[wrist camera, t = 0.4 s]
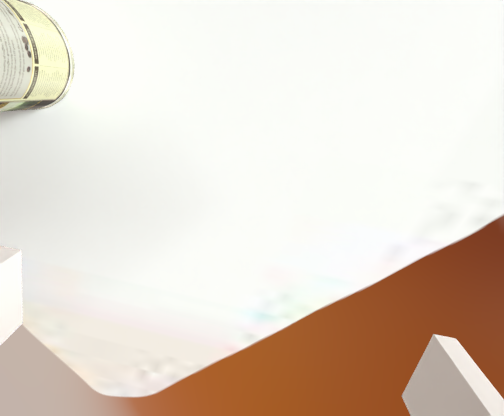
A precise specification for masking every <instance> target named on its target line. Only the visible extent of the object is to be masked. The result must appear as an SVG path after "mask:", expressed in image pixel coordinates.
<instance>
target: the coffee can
mask: <svg viewBox="0 0 504 416" xmlns="http://www.w3.org/2000/svg"><path fill="white" fill-rule="evenodd" d="M73 74H74V59H73V54H72V50H71V47H70V44H69V42H68V39H67V37H66V36H65V34H64V32H63V31H62V29H61V28H60V27H59V25H58V24H57V22H56V21H55V20H54V19H52V18H51V16H50V15H48V14H47V13H46V12H45V11H43V10H42V9H40V8H39V7H37V6H35V5H33V4H30V3H28V2H25V1H20V0H0V112H1V111H13V110H26V109H43V108H47V107H50V106H52V105H54V104H56V103H57V102H59V101H60V100H61V99H62V98H63V97H64V96H65V95H66V93H67V92H68V90H69V88H70V86H71V83H72V80H73Z"/></svg>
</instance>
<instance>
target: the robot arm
mask: <svg viewBox="0 0 504 416" xmlns="http://www.w3.org/2000/svg"><path fill="white" fill-rule="evenodd" d="M22 323H23V303H22V259H21V250H19V249H14V248H9V247H4V246H0V345H1V344H2V343H3V342H4V341H5V340H6V339H7V338H8V337H9V336H10V335H11V334H12V333H13V332H14V331H15V330H16V329H17V328H18V327H19V326H20V325H21V324H22ZM402 398H403V400H404V402H405V404H406V406H407V408H408V411H409V413H410V415H411V416H504V400H503V398H502V397H501V396H500V394H499V393H498V392H497V391H496V389H495V388H494V387H493V385H492V384H491V383H490V382H489V380H488V379H487V378H486V377H485V375H484V374H483V373H482V371H481V370H480V369H479V367H478V366H477V365H476V364H475V362H474V361H473V360H472V359H471V357H470V356H469V355H468V354H467V352H466V351H465V350H464V348H463V347H462V346H461V345H460V343H459V342H458V341H457V340H456V339H455V338H450V337H445V336H440V335H435V334H433V336H432V338H431V340H430V342H429V344H428V346H427V348H426V350H425V352H424V354H423V356H422V358H421V360H420V362H419V363H418V366H417V367H416V369H415V371H414V373H413V375H412V377H411V379H410V381H409V383H408V385H407V387H406V389H405V391H404V393H403V394H402Z"/></svg>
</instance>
